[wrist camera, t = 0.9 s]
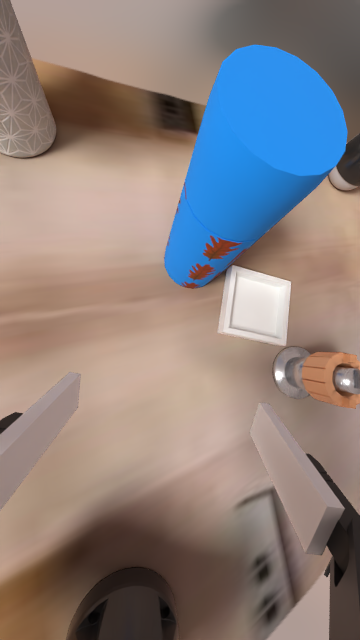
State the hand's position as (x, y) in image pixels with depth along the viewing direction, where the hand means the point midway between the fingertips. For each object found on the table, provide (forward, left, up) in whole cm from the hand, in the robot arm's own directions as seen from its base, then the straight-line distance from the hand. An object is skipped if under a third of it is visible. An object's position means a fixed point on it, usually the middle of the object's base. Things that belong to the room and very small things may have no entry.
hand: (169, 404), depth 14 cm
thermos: (+22, -3, -20) cm, 30 cm away
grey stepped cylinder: (+5, -28, -20) cm, 35 cm away
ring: (+5, -28, -14) cm, 32 cm away
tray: (+16, -17, -20) cm, 31 cm away
